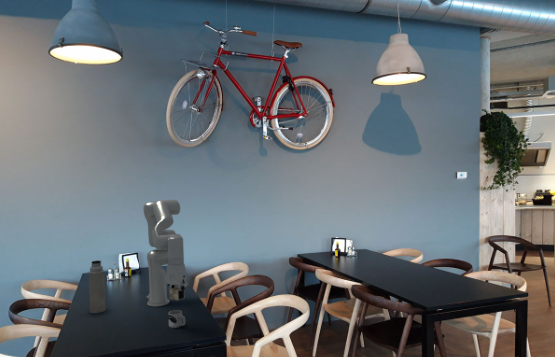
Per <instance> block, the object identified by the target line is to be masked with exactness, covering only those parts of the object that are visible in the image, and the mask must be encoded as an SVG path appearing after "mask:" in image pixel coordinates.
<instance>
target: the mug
mask: <svg viewBox="0 0 555 357" xmlns="http://www.w3.org/2000/svg"><path fill="white" fill-rule="evenodd" d="M183 326H186V316H184V315H183V311H182V310H180V309H176V310H175V309H174V310H170V311H169V312H168V327H169V328H171V329H176V328H181V327H183Z"/></svg>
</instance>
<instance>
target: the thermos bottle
mask: <svg viewBox="0 0 555 357" xmlns="http://www.w3.org/2000/svg"><path fill="white" fill-rule="evenodd" d="M105 279H106V278H105V270H104V267H103V265H102V260H92V261H91V266H90V267H89V271H88V285H89V286H88V287H89V288H88V289H89V291H88V293H89V313H91V314H100V313H103V312H105V311H106V310H107V309H106V287H105V285H106V283H105V281H106V280H105Z"/></svg>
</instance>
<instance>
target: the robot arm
mask: <svg viewBox="0 0 555 357" xmlns="http://www.w3.org/2000/svg"><path fill="white" fill-rule="evenodd" d="M142 210H143V215H144V218H145V220H146V223H147V231H148V232H147V233H148V234H147V235H148V236H147V237H148V244H149V246H150V247H151V248H155V249H152V250H150V251H148V252H147V253H146V260H147V266H148V278H149V280H148V281H149V282H148V283H149V293H148V295H147V296H146V298H147V299H148V301H147V302H146V303H147V306H149V307H163V306H166V305H168V304H170V300H171V299H170V298H168V297H167V287H168V289H169V290H170V289H171V288H174V287H179V299H180V300H182V299H185V298H184V295H185V289H186V288H187V287H188V286H189V283H188V281H187V270H186V264H185V255H184V254H185V252H184V251H185V249H184V238H183V236H182V235H181V234H180V233H176V231H175V230H173V229H169V228H170V227H172V226H173V225H174V222H175V221H174V217H173V216H177V215H179V214H180V211H181V205H180V202H179V201H178V200H176V199H163V200H156V201H154V200H153V201H148V202H146V203H144V205H143V208H142ZM162 266H166V269H164V268H163V267H162Z"/></svg>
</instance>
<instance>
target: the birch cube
mask: <svg viewBox="0 0 555 357" xmlns="http://www.w3.org/2000/svg"><path fill="white" fill-rule="evenodd" d="M185 298H186V297H185V294H184V298H183V299H185ZM169 300H174V301H179V300H181V299H179V287H178V286H175V287H174V288H171V289H169Z"/></svg>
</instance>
